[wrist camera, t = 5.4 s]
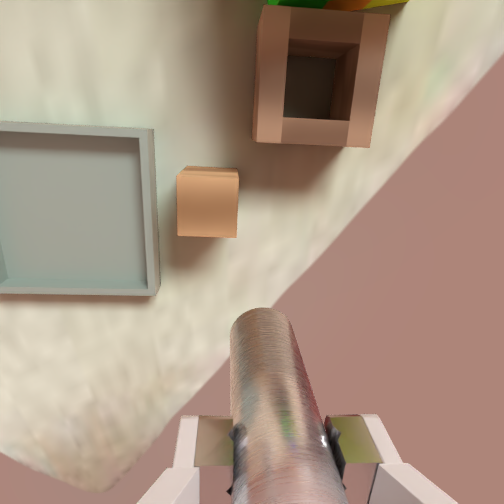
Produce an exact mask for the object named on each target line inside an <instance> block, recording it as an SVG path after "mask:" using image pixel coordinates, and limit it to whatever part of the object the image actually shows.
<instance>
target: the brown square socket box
mask: <svg viewBox="0 0 504 504" xmlns="http://www.w3.org/2000/svg"><path fill="white" fill-rule="evenodd" d="M390 16H391V15H389V14H376V13H364V12H352V11H339V10H327V9H315V8H302V7H290V6H278V5H265V4H264V5H263V9H262V12H261V16H260V19H259V23H258V27H257V42H256V63H255V84H254V105H253V126H252V140H254V141H255V142H263V143H283V144H303V145H323V146H343V147H363V148H370V141H371V135H372V129H373V123H374V116H375V110H376V104H377V98H378V91H379V85H380V79H381V73H382V66H383V60H384V54H385V48H386V41H387V35H388V29H389V23H390ZM287 55H288V56H303V57H317V58H331V59H336V65H335V74H334V82H333V91H332V99H331V108H330V116H329V120H323V119H305V118H287V117H283V108H284V95H285V81H286V68H287Z"/></svg>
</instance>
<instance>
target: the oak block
mask: <svg viewBox="0 0 504 504" xmlns="http://www.w3.org/2000/svg"><path fill="white" fill-rule="evenodd" d="M176 179H177V236H198V237H226V238H236V236H237V213H238V190H239V177H238V171H237V168H218V167H198V166H187V167H186V168H184V169H183V170H182V171H181V172H180V173H179V174H178V175H177V176H176Z"/></svg>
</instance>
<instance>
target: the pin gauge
mask: <svg viewBox="0 0 504 504" xmlns="http://www.w3.org/2000/svg"><path fill="white" fill-rule="evenodd" d="M230 403H231V404H230V408H231V409H230V411H231V412H230V413H231V414H230V416H233V464H234V466H233V485H232V486H231V504H349V503H348V500H347V497H346V494H345V490H344V487H343V484H342V481H341V478H340V475H339V472H338V468H337V465H336V462H335V459H334V456H333V453H332V450H331V447H330V443H329V440H328V437H327V434H326V431H325V428H324V425H323V422H322V419H321V416H320V412H319V409H318V406H317V403H316V400H315V396H314V394H313V390H312V387H311V384H310V381H309V378H308V375H307V372H306V368H305V365H304V362H303V359H302V356H301V353H300V349H299V346H298V343H297V340H296V337H295V334H294V331H293V328H292V325H291V323H290V321H289V319H288V318H287V317H286V316H285V315H284V314H283V313H281V312H279V311H277V310H275V309H271V308H255V309H252V310H249V311H247V312H245V313H243V314H242V315H241V316H239V317H238V318H237V320H236V321H235V322H234V324H233V326H232V328H231V332H230Z"/></svg>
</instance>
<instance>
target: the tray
mask: <svg viewBox="0 0 504 504" xmlns="http://www.w3.org/2000/svg"><path fill="white" fill-rule="evenodd" d="M160 285H161V282H160V260H159V238H158V215H157V193H156V170H155V148H154V129H144V128H124V127H105V126H86V125H67V124H48V123H28V122H9V121H0V293H5V294H69V295H132V296H156V294H157V292H158V289H159V287H160Z"/></svg>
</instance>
